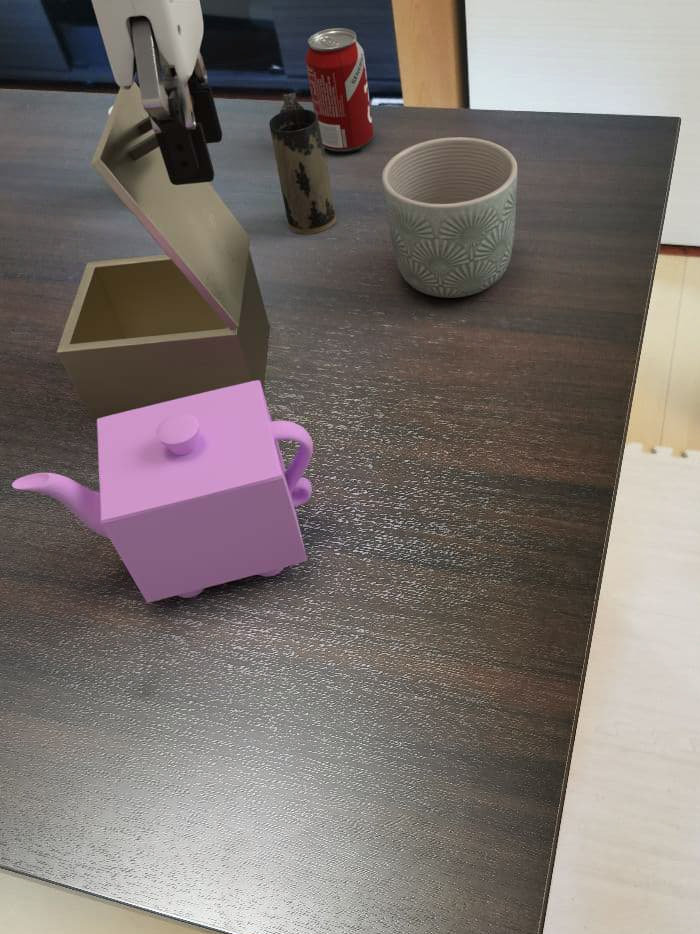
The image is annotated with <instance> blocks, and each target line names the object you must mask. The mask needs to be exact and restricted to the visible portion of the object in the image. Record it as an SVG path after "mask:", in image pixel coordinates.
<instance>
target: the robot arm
mask: <svg viewBox="0 0 700 934" xmlns="http://www.w3.org/2000/svg"><path fill="white" fill-rule="evenodd" d="M91 4H92V8H93V11H94V14H95V18H96V20H97V25H98V28H99V31H100V34H101V38H102V41H103V45H104V48H105V52H106V55H107V58H108V62H109V65H110V68H111V69H110V70H111V72H112V74H113V79H114V81H115V83H116V84H117V86H118V87H119V88H120V87H121V88H122V89H124V90H128V89H130V88H131V86H132V85H133V83H134V82H135V81H136V78H137V76H138V85H139V88H140V92H141V100H142V104H143V107H144V109H145V111H146V112H147V113H148V115H149V116H150V119H151V123H152V127H153V130H154V132H155V135H156V138H157V141H158V144H159V148H160V151H161V154H162V157H163V160H164V163H165V167H166V170H167V173H168V176H169V179H170V182H171V183H172V184H174V185H183V184H193V183H204V182H209V183H211V182H213V181H214V178H215V170H214V166H213V163H212V159H211V155H210V152H209V147H208V144H215V143H220V142H221V141H222V139H223V131H222V126H221V122H220V119H219V114H218V110H217V106H216V103H215V98H214V95H213V94H214V93H213V91H212V87H211V84H208V73H207V69H206V66H205V64H204V60H203V56H202V54H201V51H200V50H201V45H202V41H203V37H204V18H203V17H204V16H203V11H202V5H201V2H200V0H91ZM163 73H164V76H165V77H163ZM175 89H177V91H178V96H179V100H180V105H181V106H180V105H179V103H178V102H177V101H176V100H175V99H174V98H170V99H169V96H170V93H171V92H172V91H173V90H175ZM190 94H191V96H192V97H193V100H194V108H193V107H192V102H191V97H190Z"/></svg>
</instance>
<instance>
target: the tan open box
mask: <svg viewBox="0 0 700 934" xmlns="http://www.w3.org/2000/svg"><path fill="white" fill-rule="evenodd" d="M270 327H271V326H270V323H269V319H268V315H267V311H266V307H265V303H264V300H263V296H262V293H261V288H260V284H259V281H258V277H257V273H256V269H255V265H254V261H253V258H252V253H251V250H250V249H249V254H248V261H247V269H246V276H245V284H244V291H243V299H242V307H241V314H240V322H239V327H238V328H236V329H234V330H232V331H231V330H230V329H229V328H228V327H227V325H226V324H225V323H224V322H223V321H222V319H221V318H220V317H219V316H218V315H217V313H216V312H215V311H214V310H213V309H212V308H211V306H210V305H209V304H208V303H207V302H206V300H205V299H204V298H203V297H202V296H201V294H200V293H199V292H198V291H197V290H196V289H195V287H194V286H193V285H192V284H191V283H190V281H189V280H188V279H187V278H186V277H185V275H184V274H183V273H182V272H181V271H180V269H179V268H178V267H177V266H176V265H175V264H174V262H173V261H172V260H171V259H170V258H169V256H168V255H167V254H166V253H164V254H154V255H146V256H137V257H126V258H118V259H117V258H116V259H109V260H97V261H90V262H87V263H86V266H85V268H84V271H83V274H82V277H81V280H80V283H79V286H78V288H77V292H76V294H75V298H74V301H73V303H72V306H71V309H70V312H69V315H68V317H67V321H66V324H65V326H64V330H63V333H62V334H61V335H62V336H61V338H60V340H59V344H58V346H57V350H56V354H57V356H58V358H59V360H60V361H61V364H62V366H63V367H64V369H65V371H66V373H67V375H68V377H69V379H70V381H71V382H72V385H73V386H74V388H75V391H76V392H77V393H78V394H77V395H78V397H79V398H80V400H81V403H82V404H83V406H84V408H85V409H86V412H87V414H88V415H89V418H90V419H91V421H92V423H93V424H94V427H95V428H96V430H97V419H99V418H102V417H106V416H110V415H114V414H118V413H122V412H126V411H130V410H134V409H138V408H142V407H146V406H150V405H154V404H159V403H163V402H167V401H171V400H175V399H179V398H183V397H188V396H192V395H196V394H200V393H204V392H209V391H213V390H217V389H221V388H226V387H230V386H234V385H238V384H243V383H247V382H252V381H256V380H259V381H260V382H261V386H262V389H263V390H265V389H264V387H265V376H266V368H267V359H268V358H267V357H268V346H269V336H270Z"/></svg>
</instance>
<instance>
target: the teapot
mask: <svg viewBox="0 0 700 934" xmlns="http://www.w3.org/2000/svg"><path fill="white" fill-rule="evenodd" d="M96 433H97V436H96V437H97V459H98V484H99V485H98V487H99V492H97V491H95V490H92V489H89V488H88V487H86V486H83V485H82V484H80V483H79V482H77V481H76V480H73V479H72V478H69V477H67V476H66V475H65V476H64V475H62V474H58V473H53V472H35V473H31V474H26V475H24V476H20V477H19V478H17V479H16V480H14V481H13V482H12V484H11V486H12V488H13V489H15V490H19V491H25V492H26V491H27V492H34V493H42V494H44V495H47V496H49V497H52V498H54V499H55V500H57V501H59V502H60V503H62V505H64V506H65V507H67V509H69V510H70V512H72V514H73V515H75V516H76V517H77V518H78V519H79V521H81V522H82V523H83V524H84V525H85V526H86V527H87V528H89V529H90V530H91V531H93V532H95V534H98V535H99V536H102V537H104V538H106V539H109V540H110V542H111V543H112V545H113V547H114V549H115V551H116V552H117V554H118V555H119V558H120V559H121V560H122V562H123V564H124V566H125V567H126V569H127V571H128V573H129V574H130V576H131V578H132V579H133V581H134V583H135V584H136V586H137V588H138V589H139V592H140V593H141V595H142V597H143V598H144V600H145V602H146V604H149V603H152V602H153V603H154V602H156V601H160V600H164V599H168V598H172V597H175V596H178V597H181V598H185V599H187V598H193V597H196V596H198V595H199V594H201V593H202V592H203V591H204V590H205V589H206V588H210V587H213V586H218V585H222V584H225V583H229V582H232V581H236V580H240V579H244V578H245V579H246V578H249V577H252V576H256V575H259V576H262V577H265V578H267V577H273V576H276V575H278V574H279V573H281V572H282V571H283V570H284V569H285V568H286V567H290V566H294V565H298V564H300V563H304V562H308V556H307V553H306V548H305V545H304V541H303V535H302V532H301V528H300V523H299V520H298V515H297V511H296V507H299V506H302V505H304V504H306V503H307V502H309V500H310V499H311V497H312V493H313V486H312V483H311V482H310V480H309V479H308V478H306V477H305V476H303V475H304V474H305V472H306V470H307V468H308V467H309V465H310V463H311V460H312V457H313V454H314V444H313V439H312V437H311V435H310V434H309V432H308V430H306V428H304V427H303V426H302V425H300V424H298V423H297V422H293V421H289V420H272V417H271V414H270V411H269V406H268V404H267V400H266V397H265V393H264V389H262V386H261V382H260V381H259V380H256V381H252V382H247V383H243V384H238V385H234V386H230V387H226V388H221V389H217V390H213V391H209V392H204V393H200V394H196V395H192V396H188V397H183V398H179V399H175V400H171V401H167V402H163V403H159V404H154V405H150V406H146V407H142V408H138V409H134V410H130V411H126V412H122V413H118V414H114V415H110V416H106V417H102V418H99V419H97V429H96ZM279 441H291V442H296V443H298V444H299V446H298V449H297V452H296V454H295V456H294V457H293V460H292V461H291V463H290V464H289V465H288V466H287V469H286V465H285V461H284V459H283V455H282V452H281V448H280V444H279Z"/></svg>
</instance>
